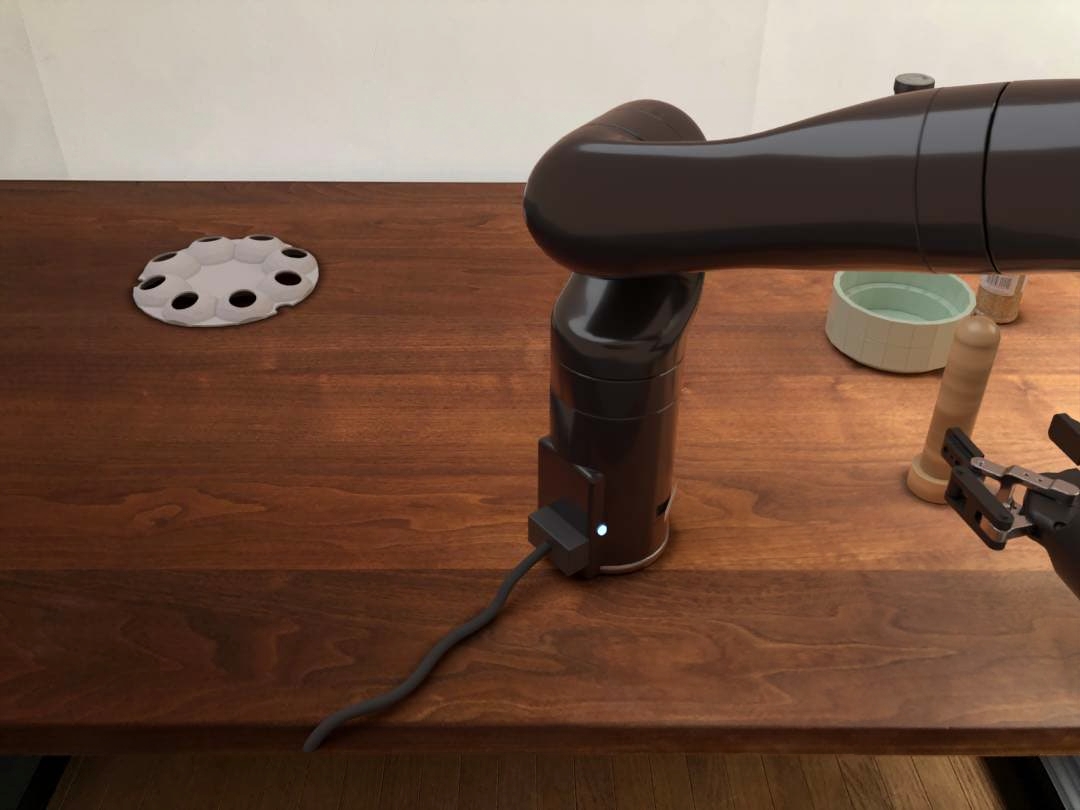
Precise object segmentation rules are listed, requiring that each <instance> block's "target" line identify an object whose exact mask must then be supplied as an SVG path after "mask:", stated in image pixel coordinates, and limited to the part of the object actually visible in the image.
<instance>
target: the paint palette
mask: <svg viewBox="0 0 1080 810" xmlns="http://www.w3.org/2000/svg"><path fill="white" fill-rule="evenodd" d="M290 256H301V257H300V258H299V257H298V258H297V257H290ZM282 275H293V276H296V277H298V278H299V279H300V280H301V281H300V282H299V283H298V284H294V285H286V284H282V283H280V282H278V281H277V280H276V278H277V277H278V276H282ZM319 277H320V275H319V266H318V262H317V260H316V258H315V256H313V255H312V254H311V253H309V252H308V251H307V250H305V249H303V248H299V247H295V246H293V245H291V244H288V243H285V242H283V241H282V240H280V238H278V237H276V236H274V235H271V234H265V233H254V234H253V233H252V234H250V235H247V236H244V238H237V239H230V238H227V237H225V236H221V235H209V236H203V237H199V238H198V239H196V240H194V241H193V242H192V243H191V244H190V245H189V246H188V247H187V248H184V249H180V250H177V251H167V252H164V253H160V254H158V255H156V256H155V257H153V258H152V259H150V260H149V262H148V263H147V264H146V265H145V268H144V270H143V272H141V274H140V275H139V277H138V278H137V280H138V281H141V282H140V283H139V284H138V285H137V286H134V287H133V293H132V297H133V300H134V303H135V304H136V306H137V307H138V308H139V309H140V310H141V311H142V312H144V314H146V315H148V316H150V317H151V318H153V319H156V320H158V321H161V322H163V323H165V324H170V325H175V326H179V327H180V326H181V327H188V328H190V327H191V328H192V327H193V328H216V327H218V328H220V327H228V326H238V325H245V324H248V323H253V322H256V321H260V320H263V319H267V318H269V317H272V316H274V315H277V314H278V311H277V309H278V308H279V307H283V306H290V307H293V306H295V305H297V304H298V303H300V302H302V301H304V299H307V297H308V296H309V295H310V294H312V292H313V291H314V289H315V288H316V285H317V283H318V281H319ZM163 279H165V280H164V281H163V282H162V283H161V284H159V285H157V286H156V287H154V288H150V289H145V288H147V287H149V286H153V285H155V283H156V282H158V281H161V280H163ZM245 296H255V297H256V299H255V301H254V302H253V303H252V304H251V305H249V306H246V307H238V306H235V305H233V304H231V303H230V300H231V299H235V298H239V297H245ZM183 297H184V298H185V297H186V298H189V299H194V298H195V299H196V298H198V299H197V300H196V302H195V303H194V304H192V305H191V306H189V307H187V308H183V309H176V308H174V306H173V305H172V304H173V302H174V301H175V300H176V299H178V298H183Z"/></svg>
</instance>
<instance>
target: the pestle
mask: <svg viewBox="0 0 1080 810" xmlns="http://www.w3.org/2000/svg"><path fill="white" fill-rule="evenodd" d="M1001 337H1002V335H1001V330H1000V327H999V325H998V323H995V322H994V321H993V320H992V319H990V318H988V317H985V316H980V315H976V314H975V315H973V316H971V317H968V318H966V319H964V320H963V321H962V322H961V323H960V324H959V325H958V326H957V328H956V330H955V333H954V337H953V341H952V345H951V348H950V352H949V356H948V359H947V363H946V366H945V367H944V370H943V375H942V377H941V382H940V386H939V388H938V392H937V397H936V400H935V404H934V408H933V413H932V415H931V418H930V422H929V426H928V430H927V434H926V437H925V441H924V444H923V448H922V452H919V453H917V454H915V456H914V457H913V458H912V460H911V463H910V467H909V470H908V474H907V477H906V478H907V479H906V484H907V487H908V489H909V491H910V492H911V493H913V494H914V495H915V496H916V497H918V498H920V499H921V500H924V501H926V502H929V503H934V504H938V505H939V504H942V505H947V504H948V503H947V502H946V501H945V499H944V494H945V490H946V489H947V485H948V482H949V479H950V473H951V470H952V468H951V467H950V465H949V464H948V463H947V462H946V460H944V458H943V457H942V456H941V453H940V450H941V446H942V443H943V439H944V436H945V434H946V430H947V429H948V428H953V427H959V428H960V429H961V430H962V431H963V432H964V433H965V434H966V435H967V436H968V437H969V438H970V440H971V441H972V436H973V433H974V430H975V427H976V423H977V421H978V416H979V414H980V409H981V406H982V404H983V399H984V396H985V393H986V391H987V386H988V383H989V379H990V377H991V373H992V370H993V367H994V363H995V359H996V356H997V354H998V350H999V346H1000V342H1001V339H1002V338H1001Z"/></svg>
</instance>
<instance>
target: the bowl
mask: <svg viewBox="0 0 1080 810" xmlns="http://www.w3.org/2000/svg"><path fill="white" fill-rule="evenodd" d="M975 308H976V292H975V291H974V290H973V288H972V287H971V286H970V284H969V283H968V282H966V281H965V280H964V279H962V278H961V277H959V276H958V275H957V274H919V273H903V272H871V271H836V273H835V274H834V276H833V282H832V288H831V292H830V296H829V303H828V307H827V313H826V319H825V325H824V331H825V333H826V335H827V338H828V339H829V341H830V343H831V344H832V345H833V346H834V347H836V348H837V349H838V350H839V351H840V352H841V353H843V354H845V356H847V357H848V358H850V359H852V360H854V361H855V362H857V363H859V364H862V365H864V366H866V367H868V368H872V369H875V370H879V371H884V372H890V373H895V374H896V373H897V374H919V373H920V374H921V373H924V372H925V373H926V372H930V371H934V370H937V369H942V368H945V367H946V363H947V359H948V356H949V352H950V348H951V345H952V341H953V337H954V333H955V330H956V328H957V326H958V325H959V324H960V323H961V322H962V321H963V320H964V319H966V318H968V317H971V316H975V314H974V311H975Z"/></svg>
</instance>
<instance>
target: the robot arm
mask: <svg viewBox="0 0 1080 810" xmlns="http://www.w3.org/2000/svg"><path fill="white" fill-rule="evenodd" d="M522 212H523V217H524V222H525V226H526V228H527V230H528V232H529V234H530V236H531V237H532V239H533V241H534V242H535V243H536V245H537V246H538V247H539V248H540V250H541V251H542V252H543V253H544V254H545V255H546V256H547V257H549V258H550V259H551V260H552V261H554V262H555V263H556V264H557V265H559V266H560V267H562V268H564V269H566V270H568V271H569V272H571V274H570V276H569V278H568V280H567V282H566V283H565V285H564V287H563V288H562V289H561V291H560V293H559V294H558V296H557V298H556V299H555V302H554V304H553V307H552V310H551V315H550V329H549V330H550V332H549V333H550V334H549V336H550V337H549V339H550V340H549V343H550V349H549V405H548V406H549V407H548V408H549V410H548V411H549V412H548V415H549V417H548V434H546V435H543V436H542V437H540V438H539V439H538V442H537V510H535V511H533V512H532V513H529V514H528V515H527V542H528V543H530V544H531V545H532V546H533V547H534V548H535V549H534V550H533V551H532V552H530V553H529V555H527V556H526V557H525V558H523V559H522V560H521V562H519V563H518V564H517V566H515V567H514V568H513V569H512V571H511V572H509V574H508V575H507V576H506V578H505V579H504V580H503V581H502V583H501V585H500V587H499V589H498V591H497V593H496V595H495V597H494V599H493V600H492V602H491V603H490V604H489V605H488V606H487V607H486V608H485V609H484V610H483V611H482V612H481V613H479V614H478V615H476V616H475V617H474V618H472V619H470V620H468V621H467V622H465V623H464V624H462V625H461V626H458V627H456V628H455V629H454V630H452V631H451V632H449V633H448V634H446V635H445V636H444V637H443V638H442V639H440V640H439V642H437V643H436V644H435V645H434V646H433V647H432V648H431V649H430V651H429V652H428V653H427V654H426V656H425V657H424V658H423V660H422V661H421V662H420V663H419V665H418V666H417V667H416V668H415V670H414V671H413V672H412V673H411V675H409V676H408V677H407V678H406V679H405V680H404V681H403V682H401V683H400V684H399V685H398V686H396V687H395V688H393V689H391V690H390V691H388V692H386V693H383V694H381V695H378V696H376V697H373V698H369V699H367V700H364V701H360V702H357V703H355V704H351V705H349V706H346V707H343V708H341V709H340V710H339V709H338V711H335V712H334V713H332V714H331V715H329V716H328V717H326V718H325V719H324V720H322V722H320V724H319V725H318V726H317V727H316V728H314V730H313V731H312V732H311V733H310V735H309V736H308V738H307V739H306V741H305V743H304V744H303V747H302V750H303V752H304V753H312V752H315V750H316V749H318V748H319V746H320V744H321V743H322V742H323V741H324V739H325V738H327V736H328V735H329V734H330V733H331V732H333V731H334V730H335V729H336V728H337V727H339V726H341V725H343V724H345V723H347V722H348V721H351V720H354V719H357V718H359V717H362V716H365V715H368V714H371V713H375V712H377V711H380V710H383V709H386V708H388V707H390V706H392V705H394V704H396V703H398V702H400V701H401V700H402V699H404V698H405V697H407V696H408V695H409V694H411V693H412V692H413V691H414V690H415V689H416V688H417V687H418V686H419V685H420V684H421V683H422V682H423V680H424V679H425V678H426V677H427V676H428V675H429V673H430V672H431V670H432V669H433V667H434V666H435V665H436V664H437V662H438V661H439V660H440V659H441V657H443V656H444V655H445V654H446V652H448V651H449V650H450V649H451V648H452V647H453V646H455V645H456V644H457V643H459V642H460V641H462V640H463V639H464V638H467V637H468V636H470V635H472V634H473V633H475V632H477V631H478V630H480V629H482V628H483V627H484V626H486V625H487V624H488V623H489V622H491V621H492V620H493V619H494V618H495V617H496V616H497V615H498V614H499V612H501V610H502V609H503V607H504V605H505V604H506V602H507V600H508V598H509V596H510V594H511V592H512V590H513V589H514V587H516V585H517V584H518V582H519V581H520V580H521V579H522V578H523V577H524V576H525V575H526V574H527V573H528V572H529V571H530V570H531V569H532V568H533V567H534V566H535V565H536V564H538V563H539V562H540V561H541V560H543V558H544V557H546V558H547V560H548V561H550V562H551V563H552V564H553V565H555V566H556V567H557V568H558V569H559V570H560V571H561V572H562V573H563V574H565V575H566V576H567V577H570V576H572V575H574V574H576V573H579V574H580V575H581V576H582V577H583V578H585V579H587V580H591V579H592V578H594V577H596V576H598V575H621V574H627V573H631V572H632V573H633V572H635V571H639V570H641V569H644V568H646V567H647V566H650V565H651V564H653V563H654V562H655V561H657V560H658V559H659V558H660V557H661V555H662V554H663V553H664V552H665V550H666V548H667V545H668V542H669V533H670V525H669V521H670V510H671V506H672V503H673V500H674V499H675V495H676V493H677V483H678V482H677V481H676V482H675V485H674V488H673V478H674V468H675V458H676V450H677V449H676V448H677V437H678V428H679V418H680V417H679V416H680V406H681V396H682V387H683V377H684V368H685V358H686V350H687V340H688V334H689V330H690V328H691V326H692V323H693V321H694V319H695V316H696V315H697V313H698V309H699V306H700V303H701V300H702V296H703V292H704V286H705V280H706V273H707V272H715V271H716V272H717V271H729V270H730V271H731V270H780V271H781V270H784V271H809V272H810V271H812V272H813V271H814V272H838V271H871V272H903V273H919V274H955V275H973V276H974V275H977V276H978V275H979V276H981V275H1029V276H1033V275H1035V276H1036V275H1067V274H1068V275H1069V274H1070V275H1071V274H1072V275H1073V274H1080V78H1040V79H1019V80H1013V81H1000V82H988V83H987V82H986V83H978V84H977V83H976V84H965V85H956V86H954V85H953V86H942V87H941V86H939V87H934V88H931V89H925V90H918V91H912V92H906V93H901V94H896V95H894V94H892V95H888V96H883V97H879V98H875V99H870V100H867V101H864V102H860V103H857V104H853V105H849V106H845V107H842V108H839V109H835V110H831V111H828V112H824V113H819V114H817V115H814V116H811V117H807V118H804V119H801V120H798V121H794V122H791V123H788V124H784V125H780V126H777V127H774V128H771V129H767V130H764V131H759V132H756V133H755V132H754V133H751V134H747V135H742V136H737V137H736V136H735V137H730V138H729V137H728V138H723V139H711V140H707V138H706V136H705V134H704V133H703V131H702V129H701V127H700V126H699V125H698V124H697V123H696V121H695V120H693V118H692V117H691V116H690V115H689V114H687V112H685V111H684V110H682V109H681V108H679V107H678V106H675V105H674V104H671V103H669V102H665V101H662V100H659V99H653V98H652V99H651V98H649V99H648V98H643V99H635V100H631V101H627V102H624V103H621V104H619V105H617V106H615V107H613V108H611V109H610V110H608V111H606V112H604V113H603V114H601V115H599V116H596V117H595V118H593V119H592V120H590V121H588V122H586V123H585V124H582V125H580V126H579V127H577V128H576V129H574V130H572V131H570V132H568V133H566V134H565V135H564V136H562V137H561V138H560V139H558V140H557V141H555V143H553V144H552V145H551V146H550V147H549V148H548V149H547V150H546V151H545V152H544V153H543V154H542V156H540V158H539V159H538V161H537V162H536V163H535V165H534V166H533V168H532V170H531V172H530V173H529V176H528V178H527V181H526V184H525V188H524V191H523V200H522ZM1047 436H1048V438H1049V440H1050V441H1051V442H1052V443H1053V444H1054V445H1055V446H1056V447H1057V448H1058V449H1060V451H1061V452H1062V453H1063V454H1064V455H1066V457H1067V458H1068V459H1070V461H1071V462H1073V464H1074V465H1075V466H1077V467H1074V468H1066V469H1064V470H1061V471H1059V472H1047V471H1046V472H1045V471H1044V472H1039V473H1037V472H1035V471H1033V470H1030V469H1028V468H1025V467H1023V466H1020V465H1018V464H1012V465H1010V466H1004V465H1002V464H999V463H997V462H994V461H992V460H989V459H987V458H985V457H986V455H985V454H984V453H983V451H982V450H981V449H980V448H979V447H978V446H977V445H976V444H975V443H974V442H973V441H972V439H971V440H970V438H969V437H968V436H967V435H966V434H965V433H964V432H963V431H962V430H961V429H960V428H959V427H953V428H948V429H947V430H946V434H945V436H944V439H943V443H942V446H941V450H940V453H941V456H942V457H943V458H944V460H946V462H947V463H948V464H949V465H950V467H951V468H952V470H951V473H950V479H949V482H948V485H947V489H946V490H945V494H944V499H945V501H946V502H947V504H948V505H949V506H950V507H951V509H953V511H954V512H955V513H956V514H957V515H958V516H959V517H960V518H961V519H962V520H963V522H965V524H966V525H967V526H968V527H969V528H970V530H972V532H974V534H975V535H976V536H977V537H978V538H979V539H980V540H981V541H982V542H983V543H984V544H985V546H987V548H989V549H990V550H993V551H997V552H1000V551H1004V550H1005V549H1006V545H1007V542H1008V541H1009V540H1013V539H1018V538H1022V537H1027V539H1029V540H1031V541H1034V542H1035V543H1037V544H1038V545H1039V546H1041V547H1042V548H1044V550H1045V551H1046V553H1047V555H1048V557H1049V560H1050V562H1051V565H1052V568H1053V570H1054V572H1055V574H1056V575H1057V576H1058V578H1059V579H1060V580H1061V581H1062V582H1063V583H1064V584H1065V586H1066V587H1067V588H1068V589H1069V590H1070V591H1071V593H1073V595H1074V597H1076V598H1077V599H1078V600H1079V601H1080V469H1079V468H1078V467H1080V421H1078V420H1076V419H1075V418H1072V417H1071V416H1070V415H1069V414H1068V413H1066V412H1060V413H1055V414H1053V416H1052V417H1051V421H1050V424H1049V427H1048V429H1047ZM986 478H989V479H992V480H994V481H996V482H998V484H999V485H1000V486H999V488H996V487H993V486H992V485H988V484H986V483H985V481H986ZM1017 485H1021V486H1023V487H1025V488H1026V489H1025V492H1024V495H1023V498H1022V504H1020V503H1018V502H1016V501H1015V499H1014V494H1015V490H1016V488H1017Z"/></svg>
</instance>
